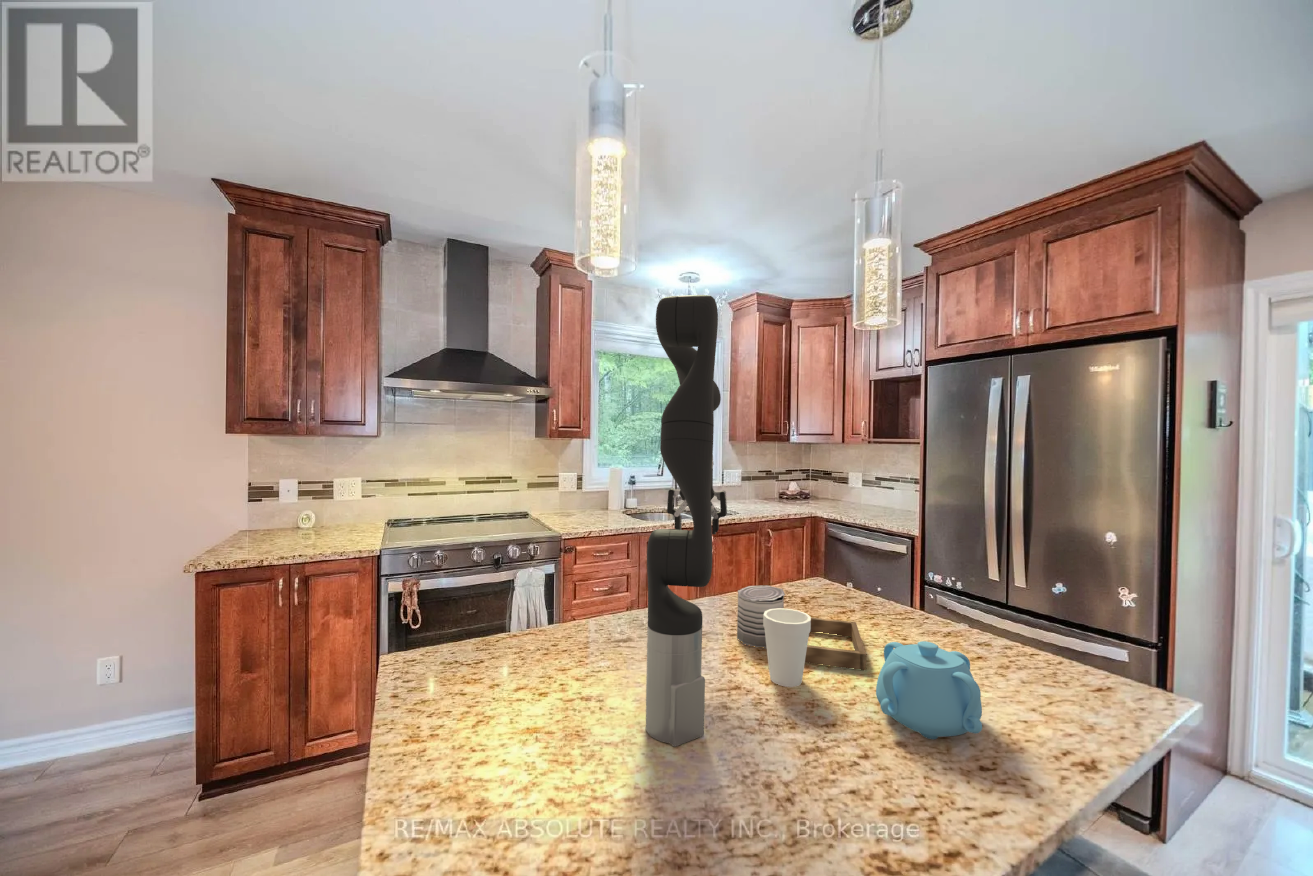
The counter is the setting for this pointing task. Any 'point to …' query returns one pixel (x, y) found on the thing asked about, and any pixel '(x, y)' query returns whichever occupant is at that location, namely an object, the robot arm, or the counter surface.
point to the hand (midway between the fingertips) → (696, 532)
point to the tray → (832, 654)
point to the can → (756, 612)
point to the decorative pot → (929, 690)
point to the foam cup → (786, 644)
